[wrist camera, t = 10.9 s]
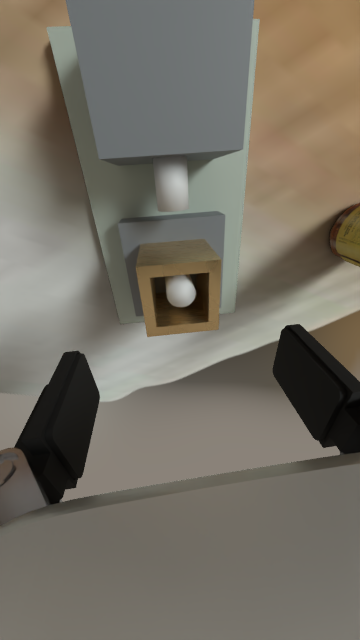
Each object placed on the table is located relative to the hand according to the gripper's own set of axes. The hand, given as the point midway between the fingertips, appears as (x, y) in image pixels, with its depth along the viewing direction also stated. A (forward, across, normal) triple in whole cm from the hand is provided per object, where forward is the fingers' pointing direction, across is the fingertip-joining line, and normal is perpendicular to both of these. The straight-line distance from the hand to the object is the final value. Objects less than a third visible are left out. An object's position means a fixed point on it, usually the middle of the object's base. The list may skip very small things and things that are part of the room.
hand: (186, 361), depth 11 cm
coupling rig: (+16, -1, -5) cm, 17 cm away
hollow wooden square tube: (+12, -1, 0) cm, 12 cm away
